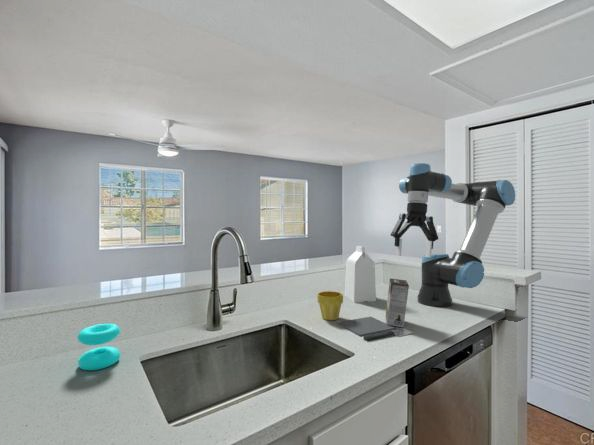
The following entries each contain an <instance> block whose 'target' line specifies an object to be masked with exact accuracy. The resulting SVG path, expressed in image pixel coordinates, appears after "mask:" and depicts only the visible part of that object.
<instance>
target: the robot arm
mask: <svg viewBox="0 0 594 445" xmlns="http://www.w3.org/2000/svg"><path fill="white" fill-rule="evenodd" d="M398 189H399V190H400V192H401V193H403V194H406V195H407V205H406V212H407V213H399V216H398V219H397V221H396V224H395V225H394V227H393V229H392V230H391V233H390V236H391V237H393V238H394V247H395V254H394V255H395V256H402V247H403V238H402V237H403V235H404V234H405V233H406V232H407V231H408V230H409V229H410V227H419V228H420V229H421V231H422V233H423V235H424V236H425V237H426V239H427V240H426V241H425V251H424V255H423V256H422V259H421V286H420V289H419V291H418V294H417V302H418V303H419V304H423V305H427V306H431V307H440V308H441V307H443V308H445V307H450V306H452V305H453V298H452V296H451V292H450V290H449V285H452V286H456V287H459V288H465V289H466V288H467V289H473V288H476V287H477V286H479V285H480V284H481V283H482V281H483V279H484V276H485V267H484V264H483V260H482V259H481V257H482V254H483V252H484V249H485V247H486V244H487V241H488V239H489V236H490V234H491V232H492V230H493V228H494V225H495V223H496V221H497V217H498V215H499V214H501V213H503V212H504V211H505V209H506V207H507V206H511V205H513V204H514V203H515V201H516V190H515V188H514V185H513V183H512V182H511V181H509V180H507V179H497V180H488V181H487V180H486V181H478V182H469V183H462V182H459V183H453V180H452V178H451V176H449V175H447V174H444V173H440V172H436V171H431V164H429V163H425V162H423V163H422V162H419V163H414V164H411V166H410V170H409V174H408V176H406V177H402V178H401V179H400V181H399V183H398ZM429 196H430V197H434V198H442V199H447V200H452V201H453V202H454V203H459V204H464V205H469V206H475V207H477V209H476V211H475V213H474V215H473V218H472V219H471V220H472V221H471V222H470V224H469V227H468V229H467V232H466V234H465V236H464V239H463V241H462V243H461V246H460V248H459V249H458V250H456V251H454V253H453V255H452V257H450V256H449V254H448V253H439V254H438V253H432V250H433V249H434V242H436V241H438V240H439V236H438V232H437V230H436V227H435V224H434V217H433V215H428V216H427V213H428V201H429ZM405 220H406V221H405Z"/></svg>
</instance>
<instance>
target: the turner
mask: <svg viewBox="0 0 594 445" xmlns="http://www.w3.org/2000/svg"><path fill="white" fill-rule="evenodd" d="M413 334H414V332H412V331H410V330H408V329H405V328H404V327H400V328H395V329H393V330H388V331H383V332H378V333H374V334H369V335H364V336H363V341H365V342H368V341H369V342H370V341H373V340H378V339H382V338H386V337H387V338H388V337H392V336H396V337H397V338H399V337H403V336H407V335H408V336H409V335H413Z"/></svg>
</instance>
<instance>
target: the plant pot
mask: <svg viewBox="0 0 594 445" xmlns="http://www.w3.org/2000/svg"><path fill="white" fill-rule="evenodd" d="M316 295H317V303H318V304H319V308H320V309H319V310H320V313H321V318H322V319H323V320H325V321H336V320H338V319H339V318H340V313H341V306H342V304H343V303H344V294H343V293H342V292H340V291H333V290H328V291H327V290H326V291H325V290H324V291H320V292H318V293H317V294H316Z"/></svg>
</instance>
